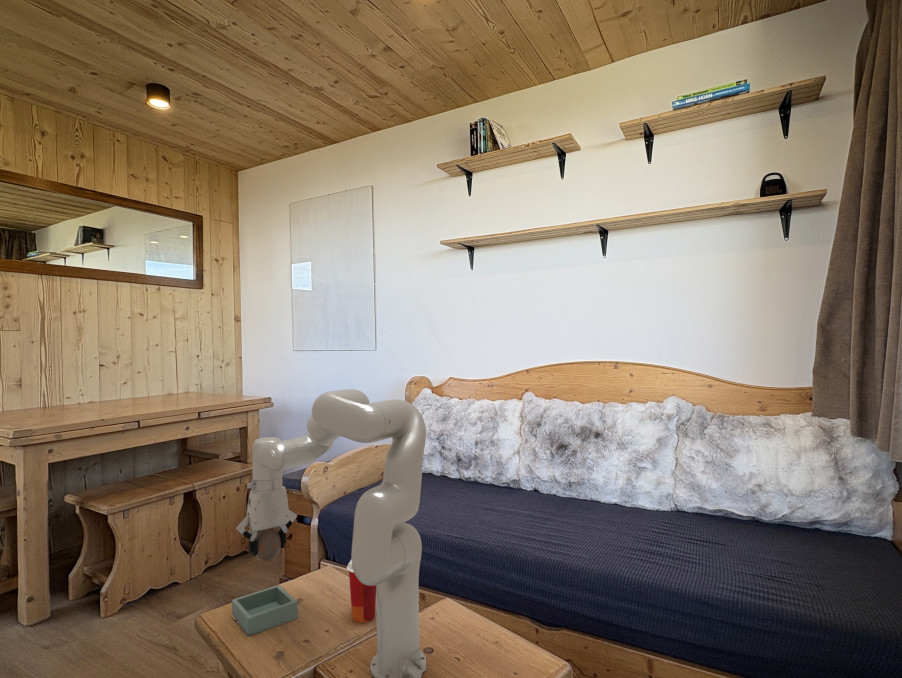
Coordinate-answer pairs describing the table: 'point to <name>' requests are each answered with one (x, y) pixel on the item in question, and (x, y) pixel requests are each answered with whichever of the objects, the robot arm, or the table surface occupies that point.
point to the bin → (264, 610)
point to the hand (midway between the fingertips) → (267, 550)
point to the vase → (268, 544)
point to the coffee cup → (361, 598)
